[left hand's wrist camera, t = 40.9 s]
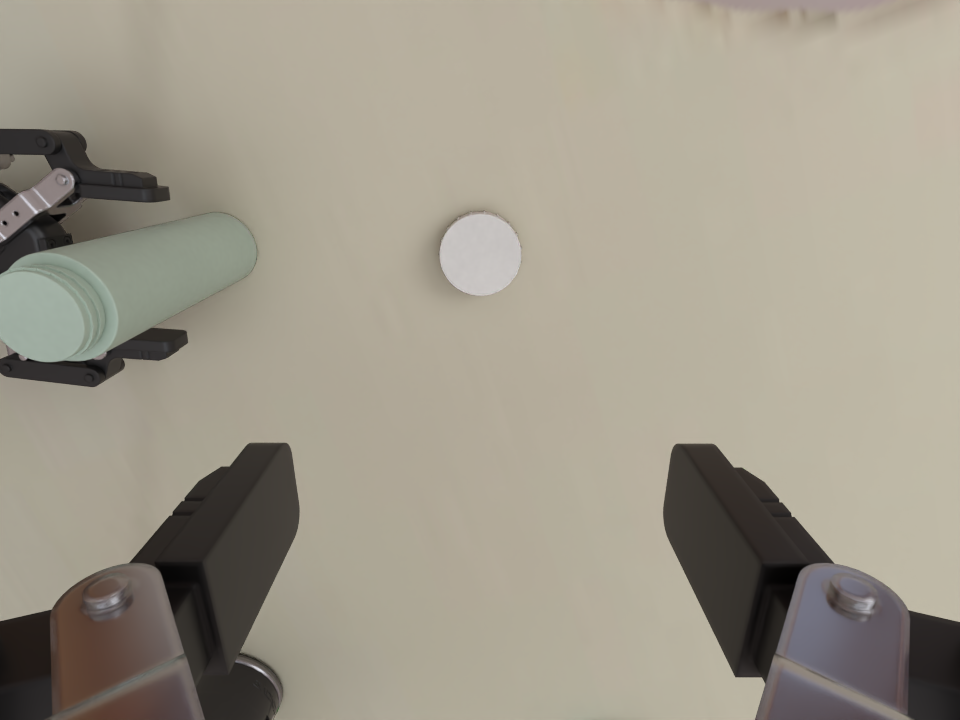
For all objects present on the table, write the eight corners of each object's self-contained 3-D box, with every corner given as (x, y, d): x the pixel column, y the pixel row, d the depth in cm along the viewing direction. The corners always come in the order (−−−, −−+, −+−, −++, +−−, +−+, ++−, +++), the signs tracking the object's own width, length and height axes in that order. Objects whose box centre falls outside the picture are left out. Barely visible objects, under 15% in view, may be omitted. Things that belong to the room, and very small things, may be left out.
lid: (440, 290, 38) (438, 296, 37) (439, 209, 36) (437, 212, 35) (518, 291, 39) (520, 297, 37) (522, 210, 36) (523, 213, 35)
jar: (255, 215, 37) (85, 264, 21) (259, 284, 38) (105, 378, 23) (183, 209, 36) (-43, 253, 21) (190, 279, 38) (-12, 368, 22)
